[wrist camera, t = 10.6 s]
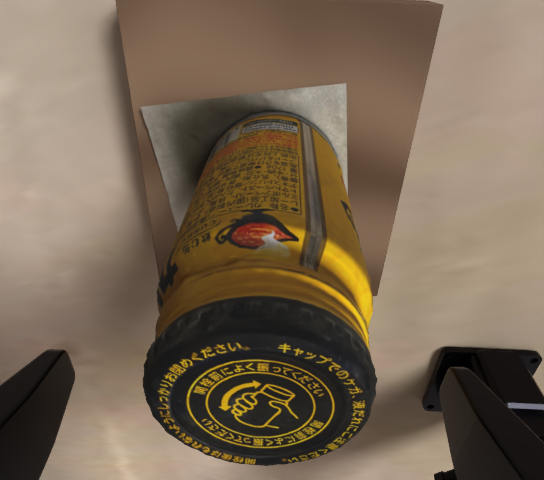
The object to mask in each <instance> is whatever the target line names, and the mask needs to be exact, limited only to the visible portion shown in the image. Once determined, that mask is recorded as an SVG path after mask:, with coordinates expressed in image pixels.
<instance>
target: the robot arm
mask: <svg viewBox="0 0 544 480" xmlns="http://www.w3.org/2000/svg"><path fill="white" fill-rule="evenodd" d="M541 361H542V358H541V356H540V354H539V353H538V352H537V351H524V350H502V349H480V348H458V347H448V348H445V349H443V350H442V352H441V354H440V357H439V360H438V362H437V365H436V367H435V370H434V373H433V375H432V378H431V380H430V383H429V386H428V388H427V391H426V393H425V396H424V399H423V401H422V405H423V408H424V409H425V410H426V411H441V412H443V417H444V422H445V428H446V433H447V438H448V443H449V448H450V453H451V457H452V462H453V466H454V469H452V470H449V471H447V472H443V471H441V472H438V473H436V474H434V479H435V480H544V395H543V393H542V392H541V390H540V388H539V387H538V385H537V383H536V382H535V380H534V378H533V377H532V376H533V375H534V373H535V371H536V370H537V368H538V366H539V365H540V363H541ZM74 380H75V371H74V368H73V366H72V363H71V360H70V358H69V355H68V353H67V352H66V351H65V350H58V349H49V350H46V351H45V352H43V353H42V354H40V355H39V356H38V357H37V358H35V359H34V360H33V361H31V362H30V363H29V364H27V365H26V366H25V367H24V368H22V369H21V370H20V371H18V372H17V373H16V374H14V375H13V376H12V377H11V378H9V379H8V380H7V381H5V382H4V383H3V384H1V385H0V480H39V478H40V476H41V474H42V471H43V469H44V467H45V464H46V462H47V460H48V458H49V455H50V453H51V450H52V448H53V445H54V443H55V440H56V437H57V434H58V431H59V428H60V425H61V422H62V418H63V415H64V412H65V409H66V406H67V403H68V400H69V397H70V393H71V390H72V387H73V384H74Z"/></svg>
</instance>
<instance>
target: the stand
mask: <svg viewBox="0 0 544 480" xmlns="http://www.w3.org/2000/svg"><path fill="white" fill-rule="evenodd" d="M116 6H117V13H118V19H119V25H120V32H121V38H122V44H123V51H124V57H125V63H126V70H127V76H128V83H129V89H130V95H131V102H132V108H133V114H134V121H135V127H136V133H137V140H138V146H139V153H140V159H141V165H142V172H143V178H144V184H145V191H146V197H147V203H148V210H149V216H150V223H151V229H152V235H153V242H154V248H155V254H156V261H157V267H158V273H159V280H160V277H161V273H162V269H163V268H164V266H165V263H166V260H167V257H168V255H169V253H170V251H171V248H172V245H173V243H174V241H175V239H176V236H177V233H178V230H177V226H176V222H175V219H174V216H173V213H172V209H171V206H170V201H169V196H168V193H167V191H166V188H165V184H164V181H163V177H162V174H161V170H160V167H159V164H158V161H157V158H156V155H155V151H154V148H153V144H152V141H151V138H150V134H149V131H148V128H147V126H146V123H145V120H144V117H143V114H142V110H141V107H143V106H152V105H163V104H170V103H176V102H184V101H192V100H202V99H211V98H223V97H230V96H235V95H245V94H252V93H262V92H268V91H277V90H290V89H296V88H305V87H315V86H324V85H335V84H343V83H346V92H347V177H348V198H349V202H350V206H351V211H352V216H353V219H354V223H355V229H356V231H357V233H358V237H359V242H360V247H361V251H362V254H363V257H364V259H365V262H366V267H367V271H368V274H369V277H370V280H371V291H372V296H377V293H378V289H379V284H380V280H381V275H382V271H383V267H384V262H385V258H386V254H387V249H388V245H389V241H390V236H391V232H392V228H393V223H394V219H395V215H396V210H397V206H398V201H399V197H400V193H401V188H402V184H403V180H404V175H405V171H406V167H407V162H408V158H409V154H410V149H411V145H412V140H413V136H414V132H415V127H416V123H417V119H418V114H419V110H420V106H421V101H422V97H423V93H424V88H425V84H426V80H427V75H428V71H429V66H430V62H431V58H432V53H433V49H434V45H435V40H436V36H437V32H438V27H439V23H440V19H441V14H442V10H443V5H442V4H438V3H434V2H430V1H416V0H116Z"/></svg>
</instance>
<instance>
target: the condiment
mask: <svg viewBox="0 0 544 480" xmlns="http://www.w3.org/2000/svg"><path fill="white" fill-rule="evenodd" d="M141 110H142V114H143V117H144V120H145V123H146V126H147V128H148V131H149V134H150V138H151V141H152V144H153V148H154V151H155V155H156V158H157V161H158V164H159V167H160V170H161V174H162V177H163V181H164V184H165V188H166V191H167V193H168V196H169V201H170V206H171V209H172V213H173V216H174V219H175V222H176V226H177V230H178V233H177V236H176V239H175V241H174V243H173V245H172V248H171V251H170V253H169V255H168V257H167V260H166V263H165V266H164V268H163V269H162V273H161V277H160V281H159V284H158V289H157V295H158V297H157V303H158V310H159V313H160V316H159V318H158V321H157V324H156V337H155V341H154V343H153V344H152V345H151V347H150V349H149V351H148V353H147V360H146V362H145V364H144V377H143V388H144V392H145V396H146V401H147V403H148V405H149V406H150V409H151V412H152V415H153V417H154V418H155V419H156V420H157V421H158V422H159V423H160V424H161V425H162V427H163V428H164V429H165V431H166V432H167V433H169V434H170V435H172V436H173V437H175V438H176V439H178V440H179V441H181V442H182V443H184V444H185V445H187V446H189V447H191V448H194V449H197V450H199V451H201V452H203V453H204V454H205V455H208V456H213V457H215V458H218V459H222V460H225V461H229V462H234V463H239V464H250V465H264V466H268V465H277V464H288V463H294V462H301V461H305V460H309V459H313V458H316V457H319V456H321V455H324V454H327V453H328V452H331V451H333V450H335V449H337V448H340V447H341V446H342V445H344V444H345V443H346V442H348V441H349V440H350V439H351V438H352V437H353V436H355V435H356V434H357V433H358V432H359V431H360V430H361V428H362V427H363V426H364V424H365V423H366V422H367V420H368V417H369V415H370V410H371V405H372V403H373V401H374V398H375V395H376V383H377V378H376V375H375V369H374V366H373V364H372V361H371V356H370V352H369V333H368V327H369V323H370V320H371V316H372V312H373V296H372V291H371V280H370V277H369V274H368V271H367V267H366V262H365V259H364V257H363V254H362V251H361V247H360V242H359V237H358V233H357V231H356V229H355V223H354V219H353V216H352V211H351V206H350V202H349V198H348V177H347V92H346V83H343V84H335V85H324V86H315V87H305V88H296V89H290V90H277V91H268V92H262V93H252V94H245V95H235V96H230V97H223V98H211V99H202V100H192V101H184V102H176V103H170V104H163V105H152V106H143V107H141Z"/></svg>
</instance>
